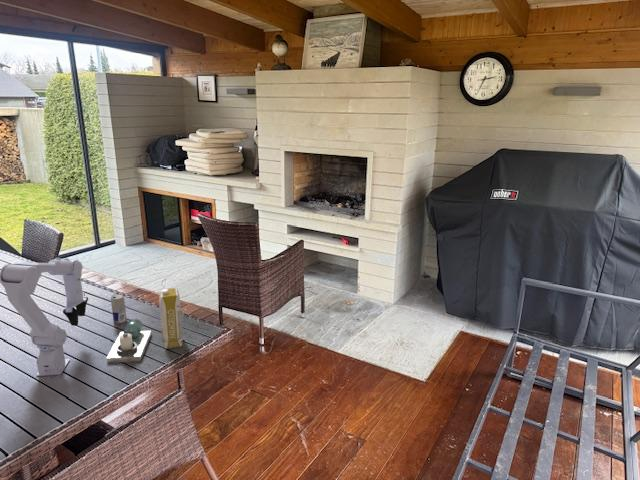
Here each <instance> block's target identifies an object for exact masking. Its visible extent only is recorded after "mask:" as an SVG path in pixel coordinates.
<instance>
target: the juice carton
mask: <svg viewBox="0 0 640 480" xmlns="http://www.w3.org/2000/svg"><path fill="white" fill-rule="evenodd" d="M158 299H159V301H158V302H159V313H160V314H159V315H160V326H161V327H160V328H161V337H162V343H163V346H164V348H165V349H171V348H172V349H173V348H179V347H180V348H181V347H182V345H183V342H184V341H183V338H184V335H183V333H184V332H183V317H182V315H183V314H182V306H181V305H182V303H181V297H180V293H179V290H178V288H177V287H174V288H164V289H160V290H159V298H158Z"/></svg>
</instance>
